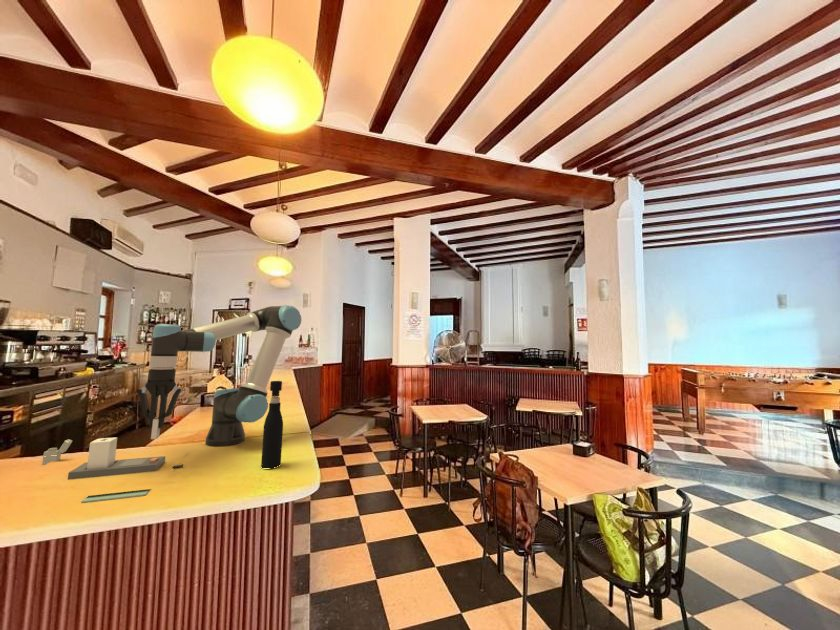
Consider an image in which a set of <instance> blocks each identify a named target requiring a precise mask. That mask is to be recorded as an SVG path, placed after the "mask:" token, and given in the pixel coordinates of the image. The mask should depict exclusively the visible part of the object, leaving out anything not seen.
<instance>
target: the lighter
mask: <svg viewBox="0 0 840 630" xmlns="http://www.w3.org/2000/svg"><path fill="white" fill-rule="evenodd" d="M72 442H73V440H72V439H69V438H68V439H65V440H64V442H63V443H62V445H61V446H60V448H59V449H58V447H51V448H49V447H48V449H47V450H46V451H44V452H43V456H42V461H41V462H42V463H41V465H42V466H45V465H47V464H49V463H51V462H52V463H53V462H59V461H61V457H62V454H63V453H65V452H66V451H68V449H69V447H70V446H71V444H73V443H72ZM51 455H57V456H51ZM44 456H46V457H44Z"/></svg>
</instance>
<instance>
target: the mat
mask: <svg viewBox="0 0 840 630" xmlns="http://www.w3.org/2000/svg"><path fill="white" fill-rule="evenodd" d="M151 490H152V488H149V489H140V490H137V489H136V490H130V491H128V490H127V491H120V492H112V493H104V494H93V495H87V496H86V498H84V499H83V500H82V501H80V503H81V504H86V503H93V502H102V501H110V500H111V501H112V500H120V499H128V498H129V499H130V498H137V497H145V496H147V495H148V494H149V492H150V491H151Z"/></svg>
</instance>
